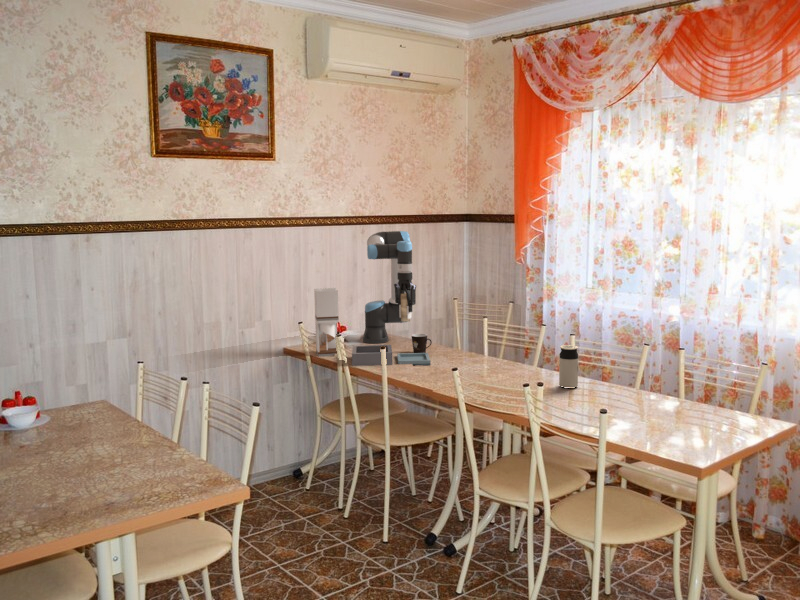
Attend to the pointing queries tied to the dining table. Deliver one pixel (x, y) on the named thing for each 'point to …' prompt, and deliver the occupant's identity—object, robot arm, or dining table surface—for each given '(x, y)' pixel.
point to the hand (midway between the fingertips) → (405, 317)
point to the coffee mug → (420, 343)
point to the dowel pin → (404, 308)
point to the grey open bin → (370, 355)
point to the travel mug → (568, 366)
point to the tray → (413, 358)
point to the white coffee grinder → (326, 320)
